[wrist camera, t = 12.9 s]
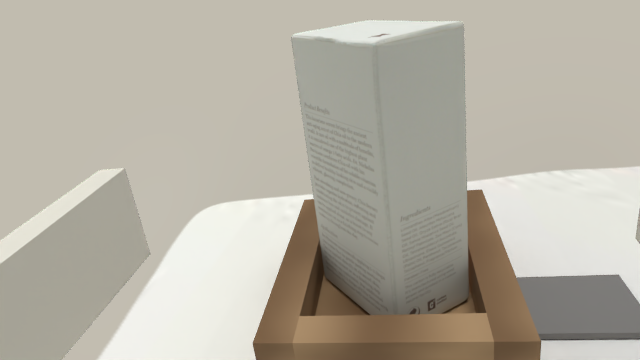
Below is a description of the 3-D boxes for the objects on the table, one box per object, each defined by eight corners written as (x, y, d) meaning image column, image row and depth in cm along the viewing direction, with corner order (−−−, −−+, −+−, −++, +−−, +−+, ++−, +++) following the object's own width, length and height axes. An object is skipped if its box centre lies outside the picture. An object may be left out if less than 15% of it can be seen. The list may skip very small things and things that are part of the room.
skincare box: (472, 300, 22) (470, 19, 17) (397, 342, 20) (371, 41, 16) (388, 247, 27) (369, 17, 22) (320, 277, 25) (285, 33, 21)
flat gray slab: (617, 280, 24) (618, 274, 23) (658, 338, 20) (660, 332, 20) (507, 282, 24) (507, 277, 24) (527, 339, 21) (527, 333, 21)
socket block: (481, 237, 29) (481, 189, 27) (537, 407, 18) (541, 341, 17) (311, 244, 30) (304, 199, 29) (266, 403, 19) (252, 343, 18)
